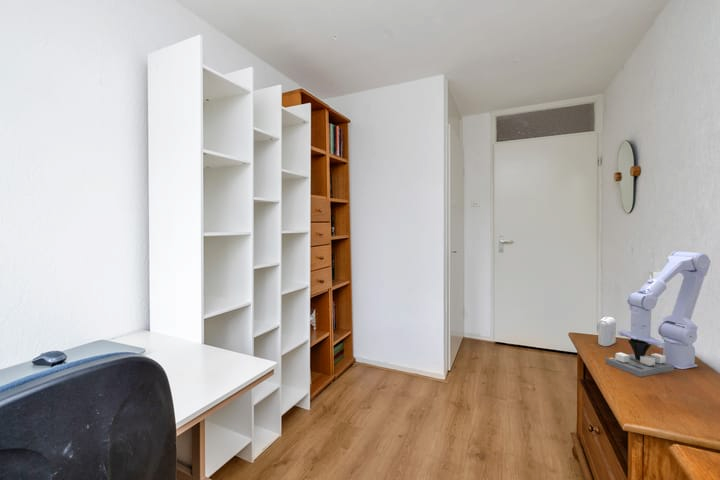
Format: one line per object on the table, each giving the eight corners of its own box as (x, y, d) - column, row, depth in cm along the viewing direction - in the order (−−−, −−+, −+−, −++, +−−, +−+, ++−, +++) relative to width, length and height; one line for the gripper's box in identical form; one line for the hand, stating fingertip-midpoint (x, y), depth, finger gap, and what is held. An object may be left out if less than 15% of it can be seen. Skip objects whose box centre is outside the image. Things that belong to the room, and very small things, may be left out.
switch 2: (656, 359, 124) (656, 353, 124) (665, 362, 121) (665, 356, 121) (650, 360, 123) (650, 354, 123) (659, 363, 120) (660, 357, 120)
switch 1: (621, 358, 125) (621, 352, 125) (629, 361, 122) (629, 355, 122) (615, 359, 124) (615, 353, 124) (623, 362, 121) (623, 356, 121)
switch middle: (645, 361, 122) (645, 355, 122) (654, 364, 119) (655, 358, 119) (640, 362, 121) (640, 356, 121) (649, 365, 118) (649, 359, 118)
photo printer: (605, 340, 152) (606, 314, 151) (616, 342, 148) (617, 316, 148) (596, 344, 146) (597, 317, 146) (607, 347, 143) (608, 320, 142)
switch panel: (641, 357, 132) (642, 351, 132) (677, 369, 120) (678, 363, 120) (605, 363, 126) (605, 357, 126) (639, 377, 115) (640, 370, 114)
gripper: (613, 320, 128) (611, 353, 129) (655, 331, 114) (654, 369, 115) (625, 318, 130) (624, 351, 131) (669, 329, 116) (667, 366, 117)
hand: (639, 359), depth 123 cm, fingers closed
